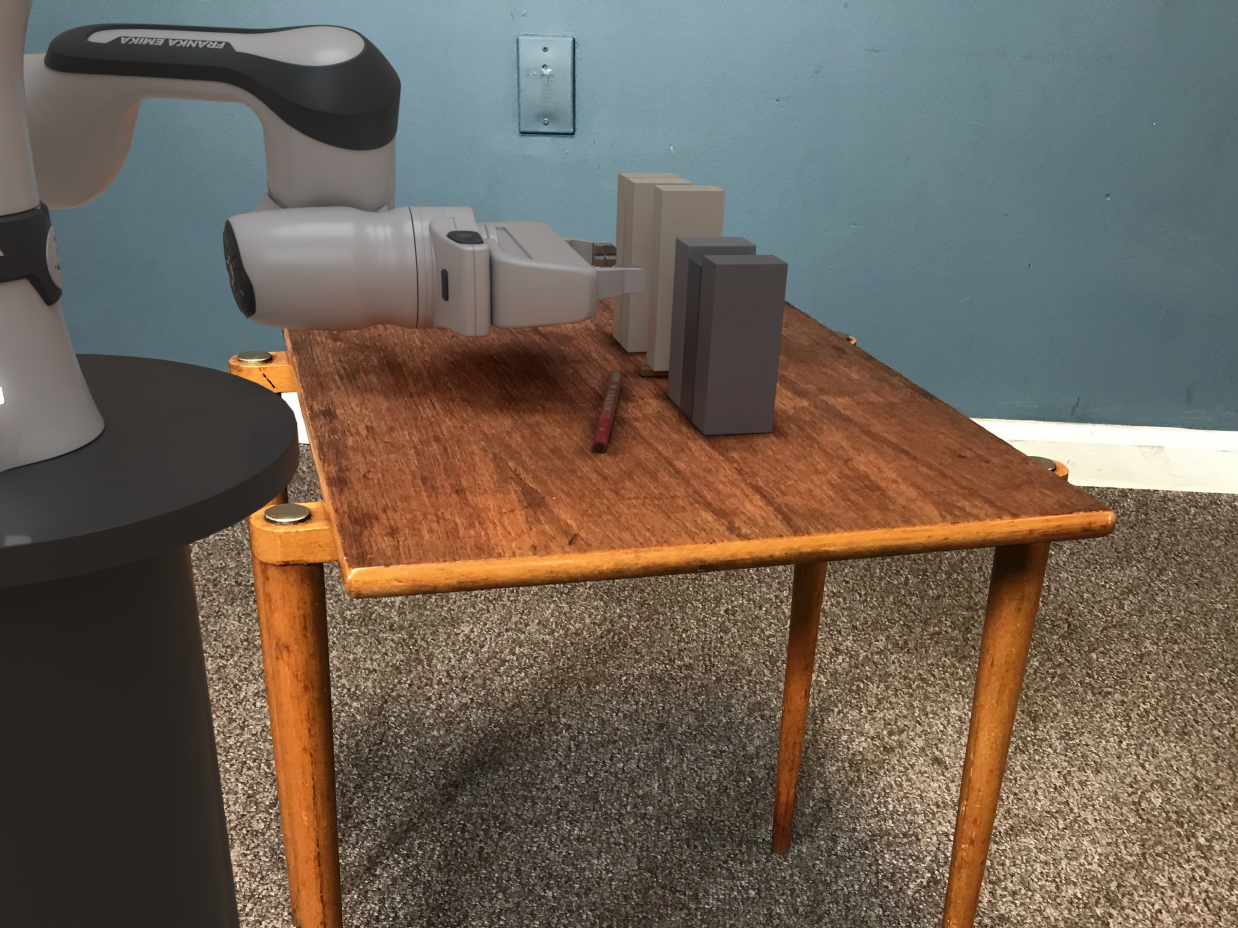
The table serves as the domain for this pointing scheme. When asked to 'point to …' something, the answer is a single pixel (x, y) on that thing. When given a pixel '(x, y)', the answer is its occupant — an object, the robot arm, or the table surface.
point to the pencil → (607, 413)
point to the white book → (672, 218)
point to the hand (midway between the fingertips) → (628, 266)
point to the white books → (636, 255)
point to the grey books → (726, 334)
